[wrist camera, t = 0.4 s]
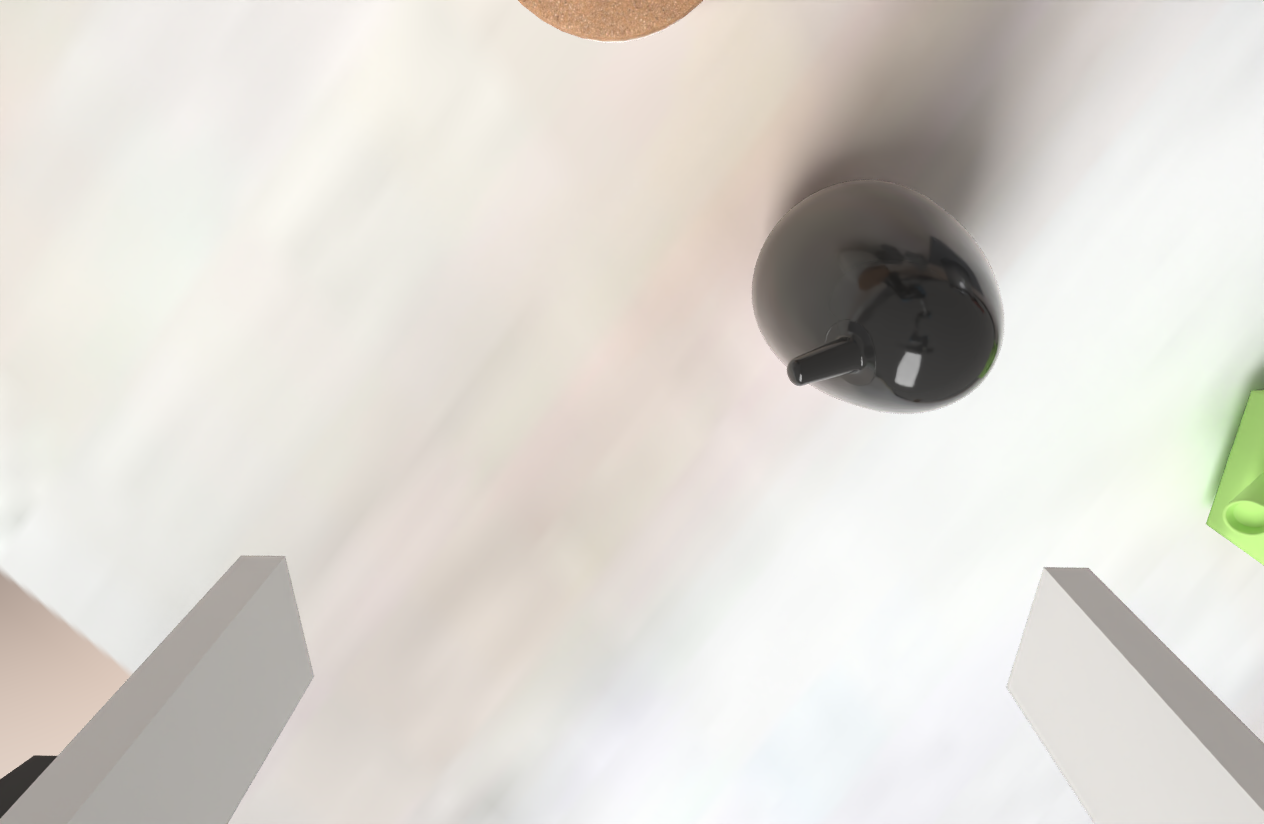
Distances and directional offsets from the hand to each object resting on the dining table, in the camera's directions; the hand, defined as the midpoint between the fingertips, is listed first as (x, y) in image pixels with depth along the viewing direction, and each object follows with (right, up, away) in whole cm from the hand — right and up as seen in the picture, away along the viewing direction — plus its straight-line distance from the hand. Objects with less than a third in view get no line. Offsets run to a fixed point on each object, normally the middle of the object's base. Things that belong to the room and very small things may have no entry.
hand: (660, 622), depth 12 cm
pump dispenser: (+11, +12, +25) cm, 30 cm away
